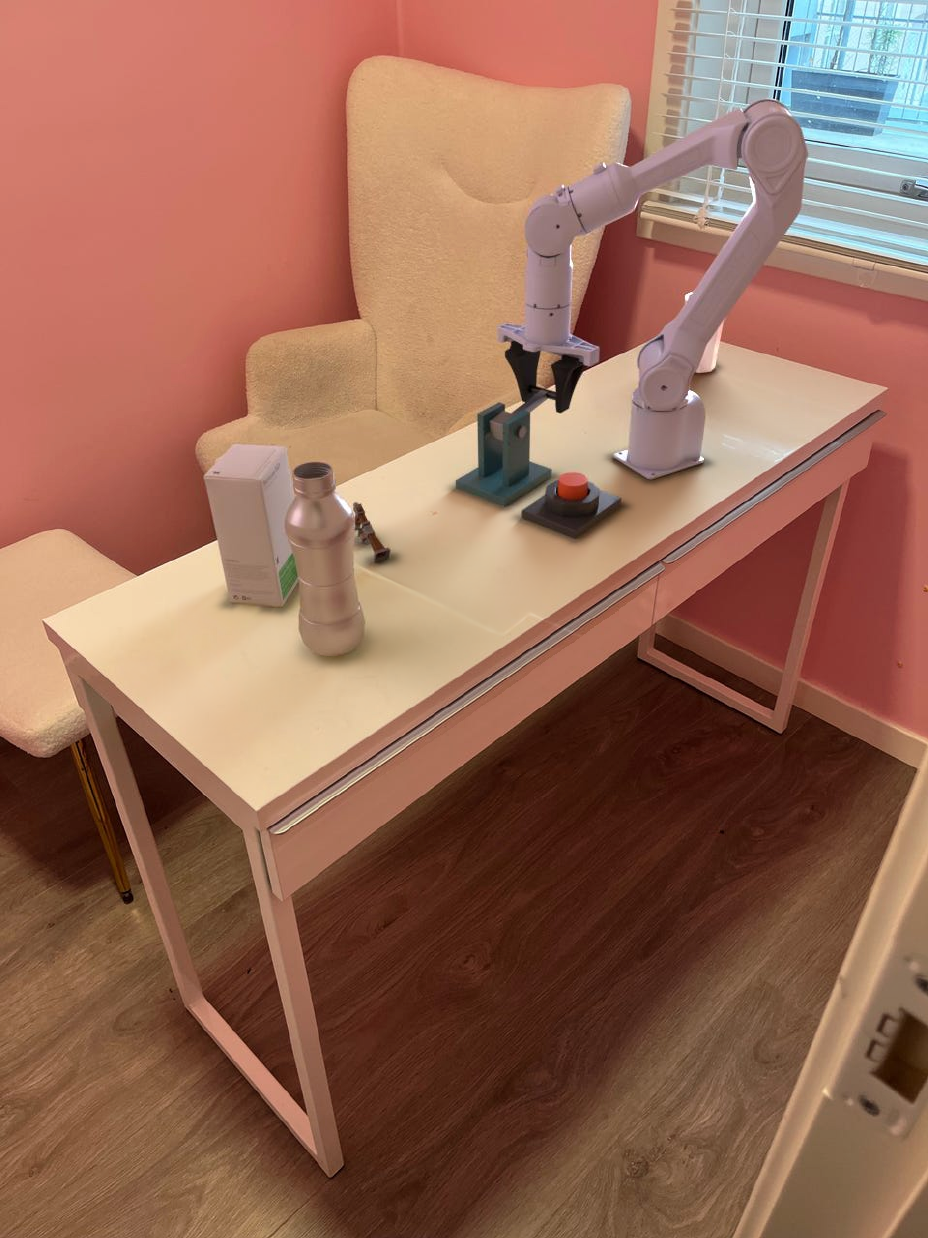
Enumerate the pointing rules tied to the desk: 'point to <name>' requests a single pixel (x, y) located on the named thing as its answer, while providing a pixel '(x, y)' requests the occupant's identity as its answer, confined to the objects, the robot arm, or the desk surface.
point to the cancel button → (572, 485)
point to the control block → (571, 510)
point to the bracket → (503, 460)
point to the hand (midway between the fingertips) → (545, 404)
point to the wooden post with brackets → (368, 533)
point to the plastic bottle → (324, 562)
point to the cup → (709, 350)
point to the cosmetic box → (253, 523)
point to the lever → (520, 409)
